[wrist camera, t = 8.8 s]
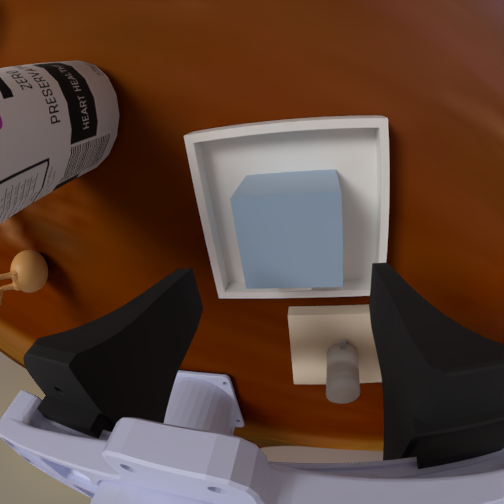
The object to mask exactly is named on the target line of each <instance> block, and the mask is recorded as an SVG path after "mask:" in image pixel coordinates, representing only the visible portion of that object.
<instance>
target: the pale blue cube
mask: <svg viewBox="0 0 504 504" xmlns="http://www.w3.org/2000/svg"><path fill="white" fill-rule="evenodd" d="M230 201H231V207H232V213H233V218H234V224H235V229H236V235H237V241H238V246H239V252H240V257H241V263H242V268H243V274H244V279H245V285H246V289H269V288H279V291H297V290H312V288H315V287H343V223H342V193H341V188H340V184H339V180H338V176H337V172H336V169H332V170H312V171H295V172H281V173H268V174H256V175H246V177H245V178H244V179H243V181H242V182H241V184H240V185H239V186H238V188H237V189H236V191H235V192H234V193H233V195H232V196H231V198H230Z"/></svg>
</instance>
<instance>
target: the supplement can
mask: <svg viewBox="0 0 504 504" xmlns="http://www.w3.org/2000/svg"><path fill="white" fill-rule="evenodd" d="M119 116H120V115H119V109H118V102H117V95H116V92H115V90H114V88H113V86H112V84H111V82H110V80H109V78H108V76H107V75H105V74H104V73H103V72H102V71H101V70H100V69H99V68H98V67H97V66H95V65H93V64H90V63H86V62H83V61H63V62H49V63H37V64H28V65H20V66H12V67H5V68H0V223H2V222H3V221H5V220H6V219H8V218H9V217H11V216H12V215H14V214H16V213H17V212H19V211H20V210H22V209H23V208H25V207H27V206H28V205H30V204H32V203H33V202H35V201H36V200H38V199H40V198H42V197H43V196H45V195H47V194H48V193H50V192H52V191H54V190H55V189H57V188H59V187H61V186H62V185H64V184H66V183H68V182H70V181H72V180H73V179H75V178H77V177H79V176H81V175H83V174H85V173H87V172H89V171H91V170H93V169H95V168H97V167H98V166H99V165H100V163H101V162H102V161H103V160H104V159H105V158H106V157H107V156H108V155H109V153H110V151H111V148H112V146H113V144H114V142H115V139H116V137H117V131H118V123H119Z"/></svg>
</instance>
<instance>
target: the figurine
mask: <svg viewBox="0 0 504 504" xmlns="http://www.w3.org/2000/svg"><path fill="white" fill-rule="evenodd" d="M47 277H48V266H47V263H46V261H45V259H44V258H43V256H42V255H41V254H39V253H38V252H36V251H33V250H25V251H22V252H20V253H19V254H17V255H16V257H15V258H14V259H13V262H12V264H11V272H9V273H5V274H1V275H0V280H1V279H7V278H12V280H13V283H12V284H9V285H5V286H2V287H0V306H1V304H2V298H3V291H5V290H10V289H15V290H22V291H24V292H29V293H31V292H36V291H38V290H39V289H41V288H42V287H43V286H44V284H45V283H46V280H47Z"/></svg>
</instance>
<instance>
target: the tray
mask: <svg viewBox="0 0 504 504" xmlns="http://www.w3.org/2000/svg"><path fill="white" fill-rule="evenodd" d="M184 140H185V146H186V151H187V156H188V161H189V166H190V171H191V176H192V181H193V185H194V190H195V195H196V200H197V204H198V209H199V214H200V218H201V223H202V227H203V232H204V236H205V241H206V245H207V250H208V254H209V258H210V263H211V267H212V271H213V275H214V280H215V284H216V288H217V292H218V296H219V298H315V297H348V296H370V289H371V275H372V263H386V259H387V245H388V227H389V194H390V162H389V130H388V118H386V117H384V116H382V115H367V116H332V117H313V118H298V119H286V120H275V121H265V122H256V123H248V124H240V125H232V126H225V127H218V128H212V129H205V130H199V131H193V132H191V133H189V134H187V135H184ZM332 169H336V172H337V176H338V180H339V184H340V188H341V193H342V223H343V287H315V288H312V290H297V291H279V288H269V289H246V285H245V279H244V274H243V268H242V263H241V257H240V252H239V246H238V241H237V235H236V229H235V224H234V218H233V213H232V207H231V201H230V198H231V196H232V195H233V193H234V192H235V191H236V189H237V188H238V186H239V185H240V184H241V182H242V181H243V179H244V178H245V177H246V175H256V174H268V173H281V172H295V171H312V170H332Z"/></svg>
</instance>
